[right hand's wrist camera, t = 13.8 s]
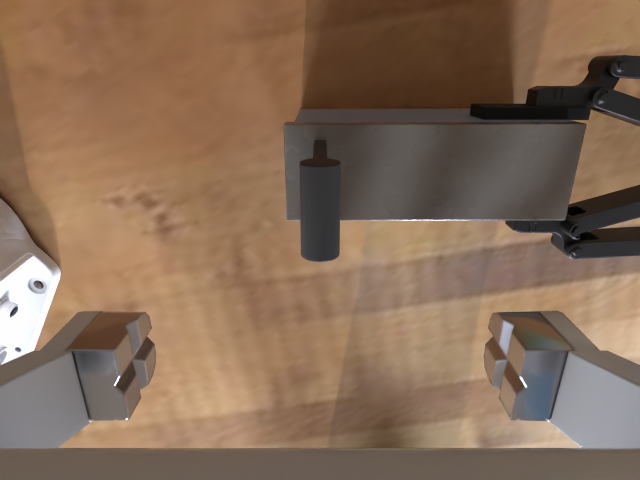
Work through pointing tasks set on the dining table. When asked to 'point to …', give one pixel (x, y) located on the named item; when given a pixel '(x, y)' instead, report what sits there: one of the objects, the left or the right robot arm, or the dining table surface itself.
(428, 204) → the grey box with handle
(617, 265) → the dining table surface
